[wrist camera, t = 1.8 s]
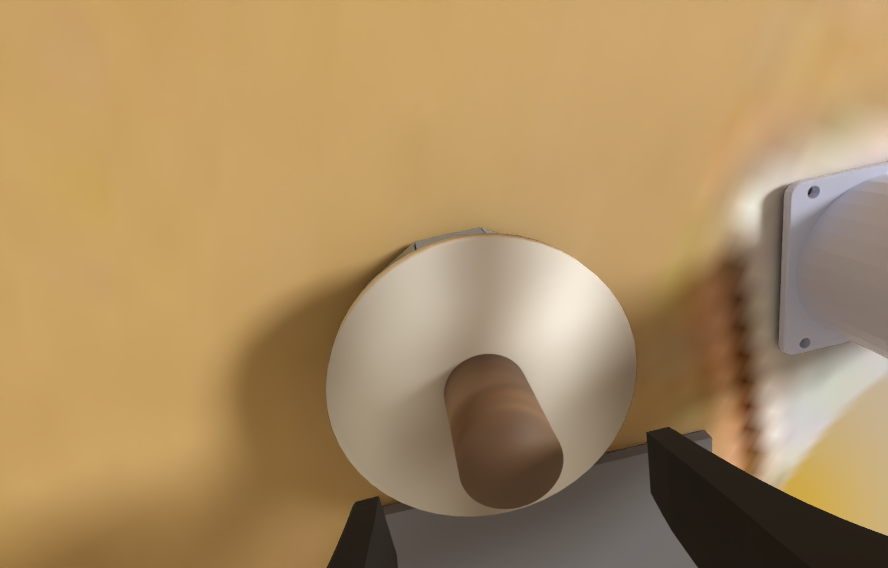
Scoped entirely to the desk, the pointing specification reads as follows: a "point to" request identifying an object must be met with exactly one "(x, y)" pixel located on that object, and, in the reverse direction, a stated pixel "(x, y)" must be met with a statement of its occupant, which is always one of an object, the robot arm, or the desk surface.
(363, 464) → the lid
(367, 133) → the desk surface
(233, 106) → the desk surface
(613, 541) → the mat
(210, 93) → the desk surface
